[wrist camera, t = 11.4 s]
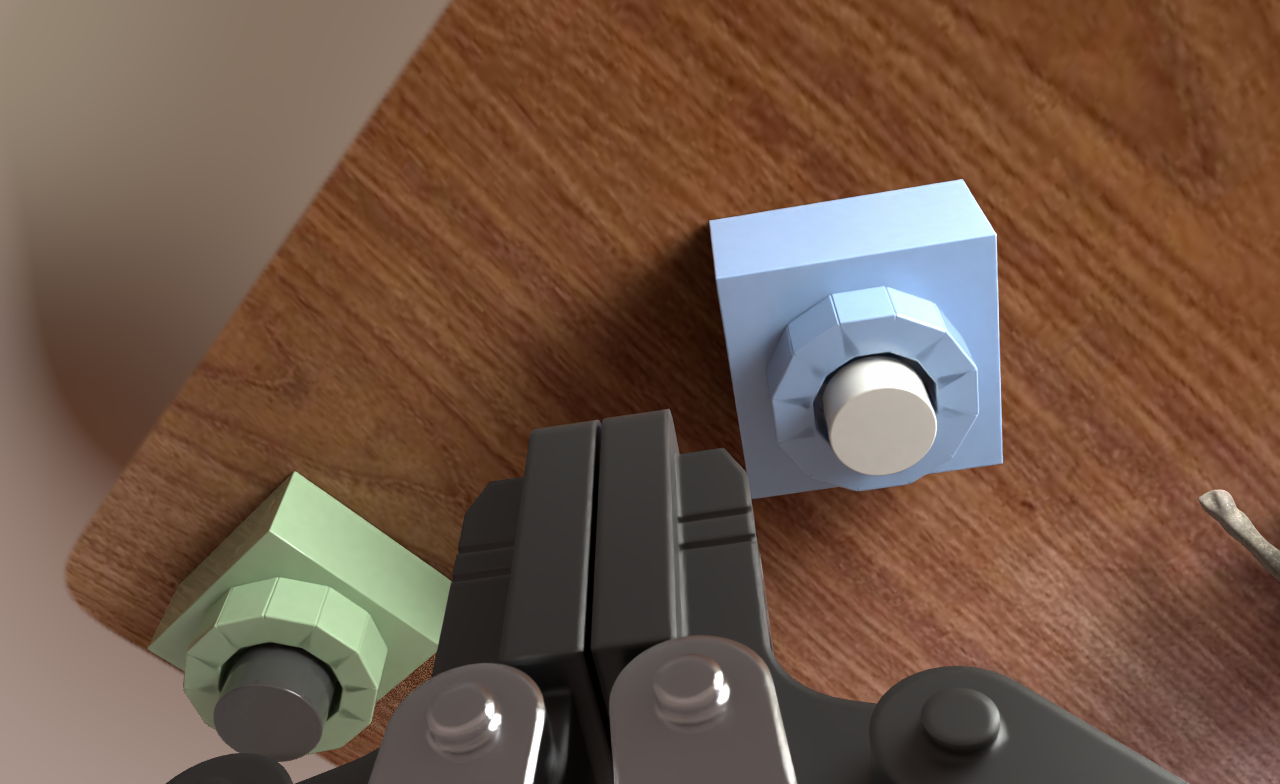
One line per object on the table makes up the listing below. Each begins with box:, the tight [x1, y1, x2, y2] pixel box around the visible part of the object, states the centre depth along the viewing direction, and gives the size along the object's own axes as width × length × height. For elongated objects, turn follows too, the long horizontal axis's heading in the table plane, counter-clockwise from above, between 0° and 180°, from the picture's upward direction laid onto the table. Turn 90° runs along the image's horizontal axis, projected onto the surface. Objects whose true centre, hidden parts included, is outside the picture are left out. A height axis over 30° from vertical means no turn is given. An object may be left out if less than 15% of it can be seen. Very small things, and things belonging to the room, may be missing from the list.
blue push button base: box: [709, 179, 1003, 499], centre depth 37 cm, size 8×8×6 cm
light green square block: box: [147, 471, 452, 755], centre depth 44 cm, size 8×8×6 cm
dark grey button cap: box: [213, 642, 335, 762], centre depth 41 cm, size 4×4×2 cm
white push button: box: [822, 356, 937, 476], centre depth 35 cm, size 3×3×2 cm
